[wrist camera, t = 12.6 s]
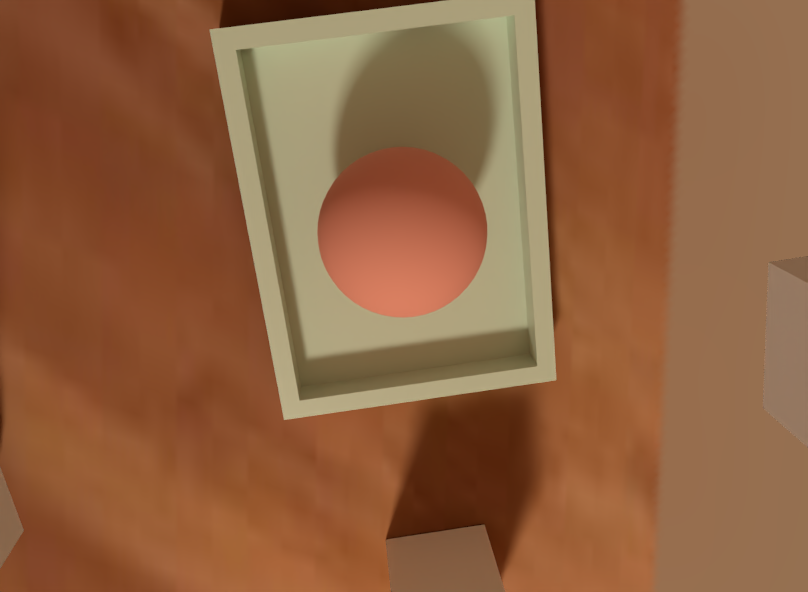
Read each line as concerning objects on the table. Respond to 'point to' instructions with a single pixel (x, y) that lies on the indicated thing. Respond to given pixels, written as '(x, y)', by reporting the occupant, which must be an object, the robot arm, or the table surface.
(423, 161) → the ball
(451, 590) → the hollow square tube
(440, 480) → the table surface
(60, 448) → the table surface
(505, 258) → the tray
